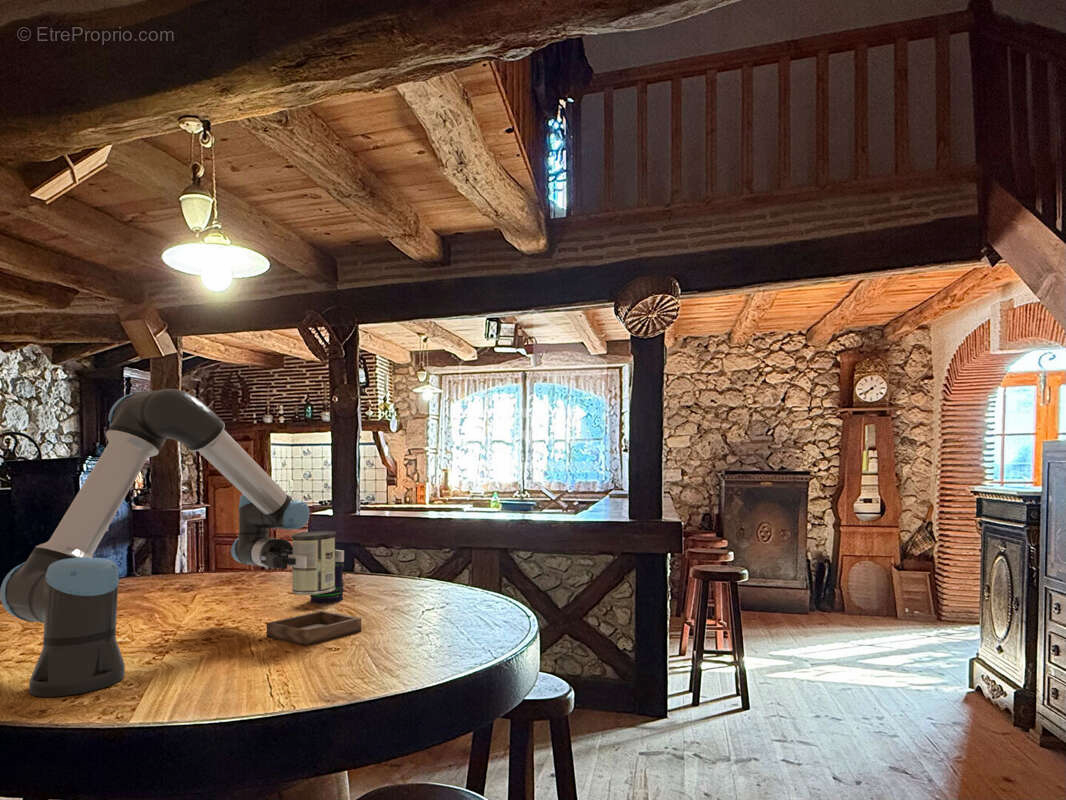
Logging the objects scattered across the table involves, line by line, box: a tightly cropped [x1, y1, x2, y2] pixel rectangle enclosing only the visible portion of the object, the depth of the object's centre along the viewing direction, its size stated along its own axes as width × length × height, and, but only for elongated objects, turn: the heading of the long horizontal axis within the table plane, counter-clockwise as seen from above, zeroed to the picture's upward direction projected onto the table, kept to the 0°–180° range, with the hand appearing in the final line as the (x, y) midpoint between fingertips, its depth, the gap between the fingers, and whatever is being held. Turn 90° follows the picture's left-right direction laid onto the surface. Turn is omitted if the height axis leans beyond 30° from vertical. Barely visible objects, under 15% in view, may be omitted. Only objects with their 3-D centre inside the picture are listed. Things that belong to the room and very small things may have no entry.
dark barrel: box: [309, 548, 345, 605], centre depth 200 cm, size 10×10×15 cm
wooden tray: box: [266, 609, 362, 647], centre depth 160 cm, size 16×16×3 cm
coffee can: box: [291, 530, 337, 596], centre depth 161 cm, size 10×10×14 cm
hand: (324, 559), depth 158 cm, fingers closed on coffee can, 10 cm apart
